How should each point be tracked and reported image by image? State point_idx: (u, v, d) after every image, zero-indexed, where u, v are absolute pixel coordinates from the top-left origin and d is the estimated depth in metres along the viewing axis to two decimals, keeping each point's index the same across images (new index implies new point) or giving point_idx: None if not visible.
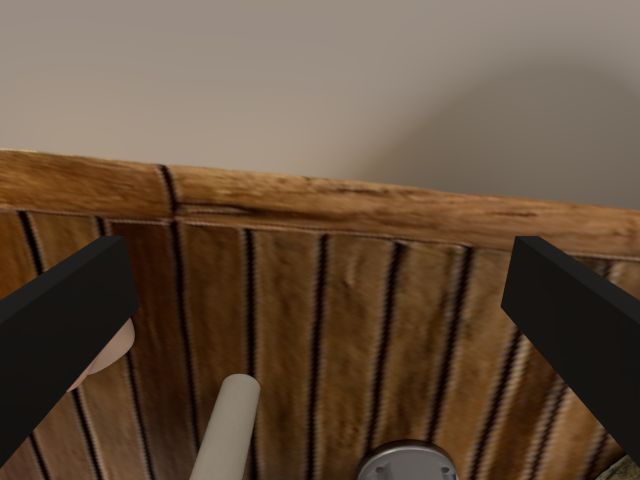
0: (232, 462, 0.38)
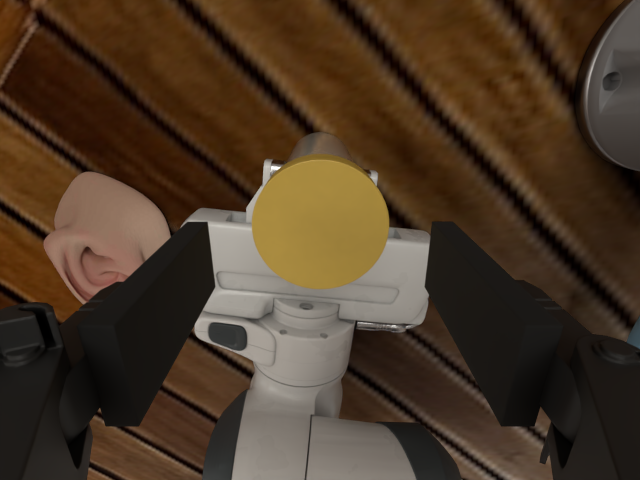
0: (313, 153, 0.20)
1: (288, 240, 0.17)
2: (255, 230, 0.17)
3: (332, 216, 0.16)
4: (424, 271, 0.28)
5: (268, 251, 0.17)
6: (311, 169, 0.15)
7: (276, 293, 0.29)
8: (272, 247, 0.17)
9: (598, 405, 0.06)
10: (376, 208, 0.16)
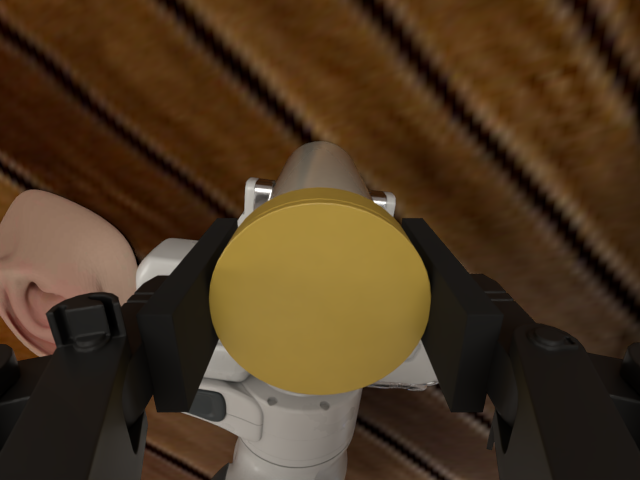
0: (310, 178, 0.14)
1: (268, 326, 0.10)
2: (215, 312, 0.10)
3: (339, 291, 0.10)
4: None
5: (237, 342, 0.11)
6: (304, 218, 0.09)
7: None
8: (243, 336, 0.11)
9: (531, 391, 0.06)
10: (411, 279, 0.10)
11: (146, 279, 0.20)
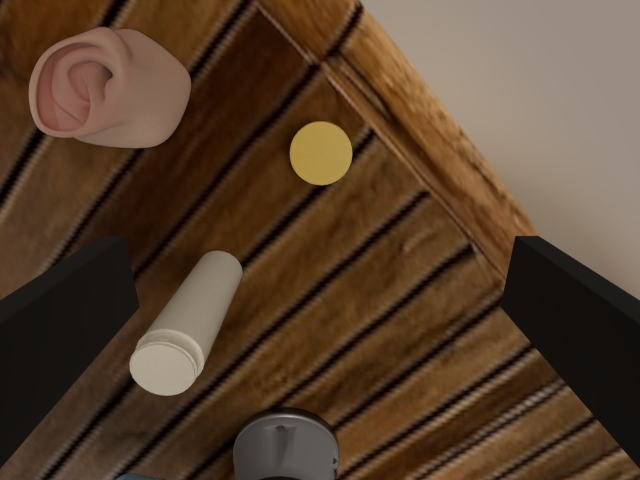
0: (213, 331, 0.31)
1: (306, 159, 0.37)
2: (291, 154, 0.36)
3: (326, 148, 0.36)
4: None
5: (296, 165, 0.37)
6: (317, 126, 0.35)
7: None
8: (298, 163, 0.37)
9: None
10: (346, 145, 0.36)
11: None
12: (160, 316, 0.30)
